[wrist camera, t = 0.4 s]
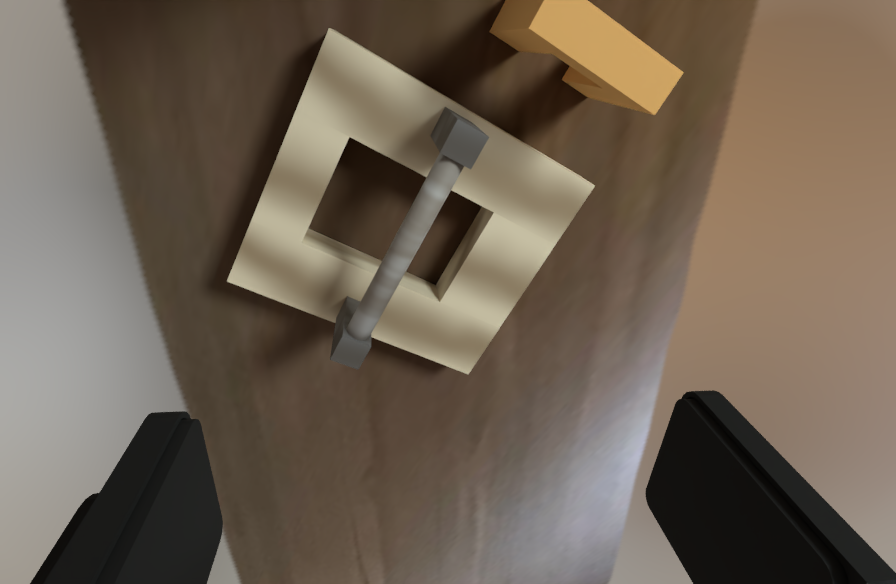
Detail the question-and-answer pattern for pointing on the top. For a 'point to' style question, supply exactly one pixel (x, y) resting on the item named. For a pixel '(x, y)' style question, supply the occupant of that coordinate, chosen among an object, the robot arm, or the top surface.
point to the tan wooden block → (590, 51)
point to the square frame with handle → (447, 168)
